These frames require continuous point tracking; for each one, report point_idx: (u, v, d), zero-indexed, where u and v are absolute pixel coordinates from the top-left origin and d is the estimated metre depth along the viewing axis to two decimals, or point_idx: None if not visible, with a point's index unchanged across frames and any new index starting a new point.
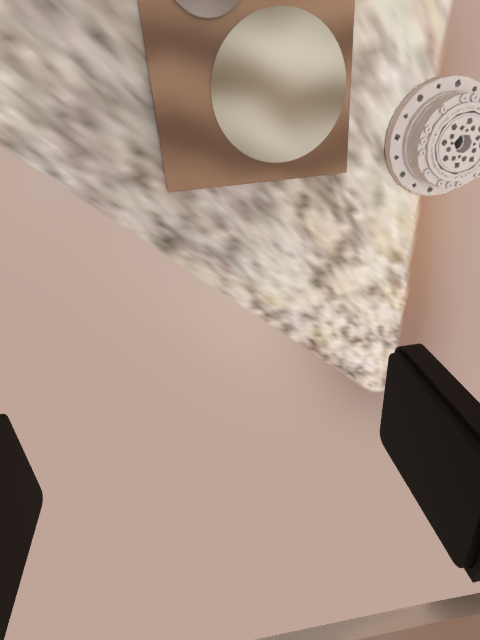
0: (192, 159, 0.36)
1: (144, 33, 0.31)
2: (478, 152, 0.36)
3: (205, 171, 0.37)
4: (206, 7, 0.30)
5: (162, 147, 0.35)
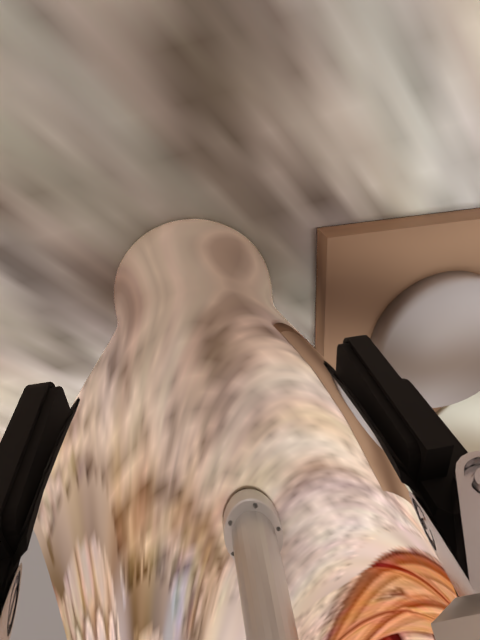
0: None
1: None
2: None
3: None
4: (435, 398, 0.19)
5: None
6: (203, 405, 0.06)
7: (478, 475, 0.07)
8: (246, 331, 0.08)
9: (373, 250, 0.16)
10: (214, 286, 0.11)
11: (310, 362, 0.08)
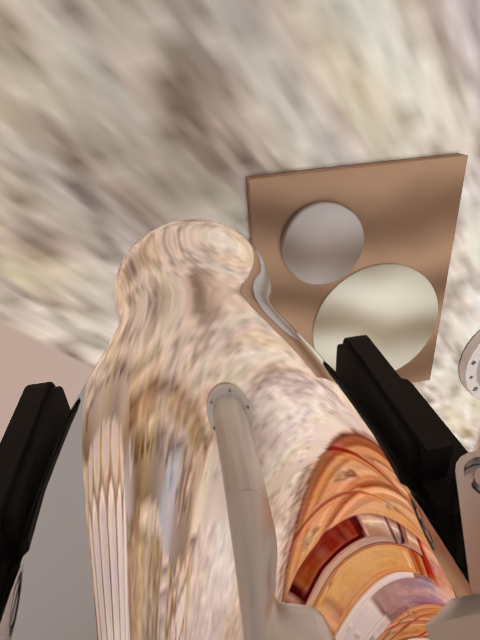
0: None
1: None
2: None
3: None
4: (319, 277, 0.32)
5: None
6: (203, 405, 0.06)
7: (478, 475, 0.07)
8: (246, 332, 0.08)
9: (275, 187, 0.30)
10: (214, 287, 0.11)
11: (309, 363, 0.08)
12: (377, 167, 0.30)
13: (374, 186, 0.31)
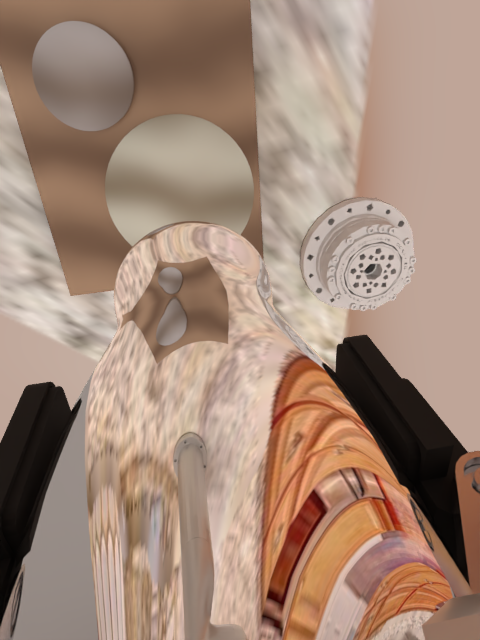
0: (93, 263, 0.34)
1: (26, 145, 0.29)
2: (390, 278, 0.35)
3: (109, 274, 0.34)
4: (88, 122, 0.28)
5: (59, 253, 0.33)
6: (204, 409, 0.06)
7: (478, 475, 0.07)
8: (246, 334, 0.08)
9: (13, 1, 0.25)
10: (214, 288, 0.11)
11: (310, 365, 0.08)
12: None
13: (139, 7, 0.26)
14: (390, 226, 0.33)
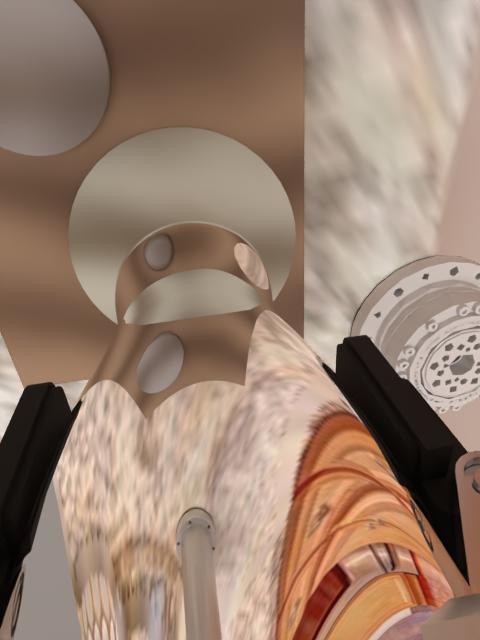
0: (56, 345, 0.23)
1: None
2: None
3: (80, 359, 0.23)
4: (34, 141, 0.17)
5: (4, 333, 0.22)
6: (204, 410, 0.06)
7: (478, 475, 0.07)
8: (247, 335, 0.08)
9: None
10: (214, 289, 0.11)
11: (310, 366, 0.08)
12: None
13: None
14: None
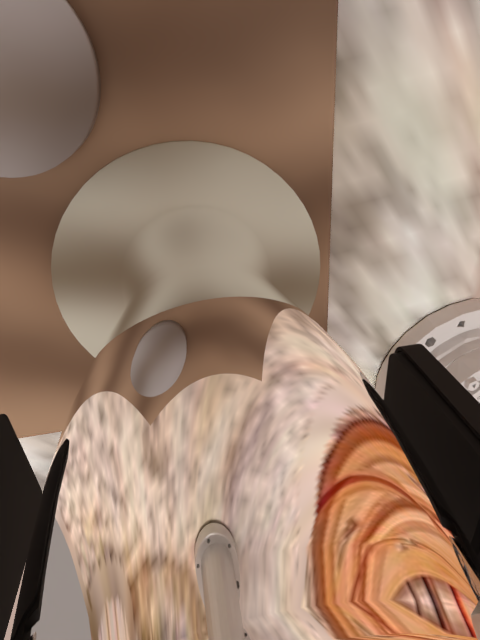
0: (40, 392, 0.20)
1: None
2: None
3: (68, 407, 0.20)
4: (6, 160, 0.14)
5: None
6: (213, 354, 0.07)
7: None
8: (249, 299, 0.09)
9: None
10: (218, 265, 0.12)
11: (308, 325, 0.09)
12: None
13: None
14: None
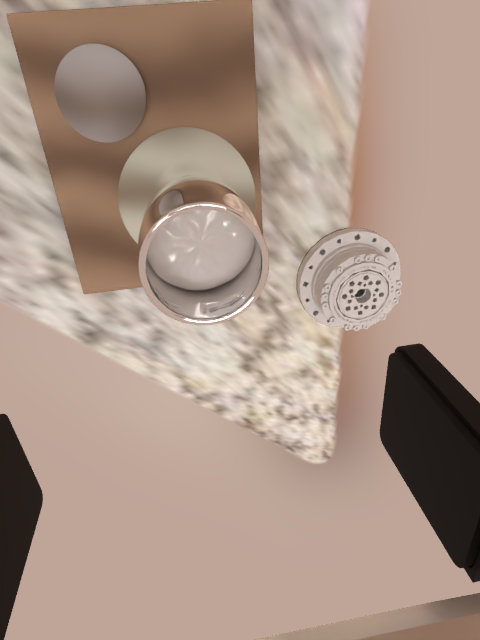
0: (106, 264, 0.36)
1: (46, 155, 0.32)
2: (379, 301, 0.39)
3: (120, 274, 0.37)
4: (104, 134, 0.30)
5: (74, 254, 0.35)
6: (191, 181, 0.23)
7: None
8: (206, 176, 0.26)
9: (38, 25, 0.28)
10: None
11: (225, 184, 0.25)
12: (150, 7, 0.28)
13: (152, 31, 0.29)
14: (375, 255, 0.37)
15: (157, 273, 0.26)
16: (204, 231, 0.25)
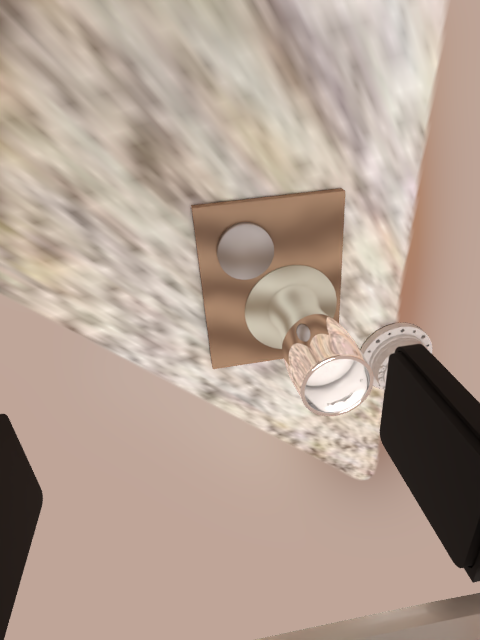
0: (230, 349, 0.52)
1: (202, 285, 0.47)
2: None
3: (239, 355, 0.53)
4: (244, 275, 0.46)
5: (210, 344, 0.51)
6: (322, 329, 0.39)
7: None
8: (324, 318, 0.41)
9: (210, 213, 0.43)
10: (311, 308, 0.44)
11: (337, 324, 0.41)
12: (281, 199, 0.44)
13: (280, 212, 0.45)
14: None
15: None
16: None
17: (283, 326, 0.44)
